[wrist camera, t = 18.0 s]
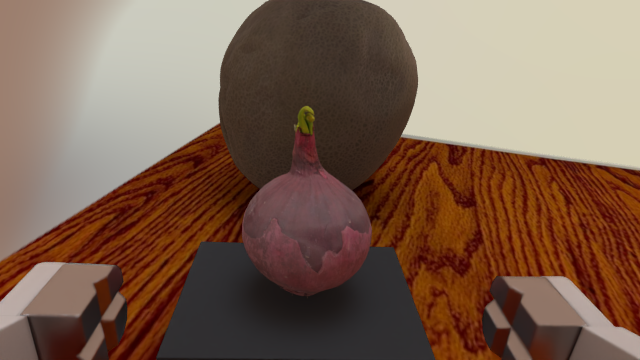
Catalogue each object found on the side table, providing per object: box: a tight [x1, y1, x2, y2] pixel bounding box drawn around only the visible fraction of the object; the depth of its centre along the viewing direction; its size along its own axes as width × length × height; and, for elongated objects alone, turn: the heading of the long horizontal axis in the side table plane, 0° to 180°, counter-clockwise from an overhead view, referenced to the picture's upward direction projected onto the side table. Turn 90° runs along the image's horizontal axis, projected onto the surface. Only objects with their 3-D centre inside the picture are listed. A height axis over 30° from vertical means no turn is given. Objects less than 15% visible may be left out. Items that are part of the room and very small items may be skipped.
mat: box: [156, 242, 435, 360], centre depth 22 cm, size 12×9×1 cm
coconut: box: [219, 0, 418, 190], centre depth 31 cm, size 14×14×15 cm
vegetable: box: [242, 106, 372, 298], centre depth 20 cm, size 6×6×10 cm
